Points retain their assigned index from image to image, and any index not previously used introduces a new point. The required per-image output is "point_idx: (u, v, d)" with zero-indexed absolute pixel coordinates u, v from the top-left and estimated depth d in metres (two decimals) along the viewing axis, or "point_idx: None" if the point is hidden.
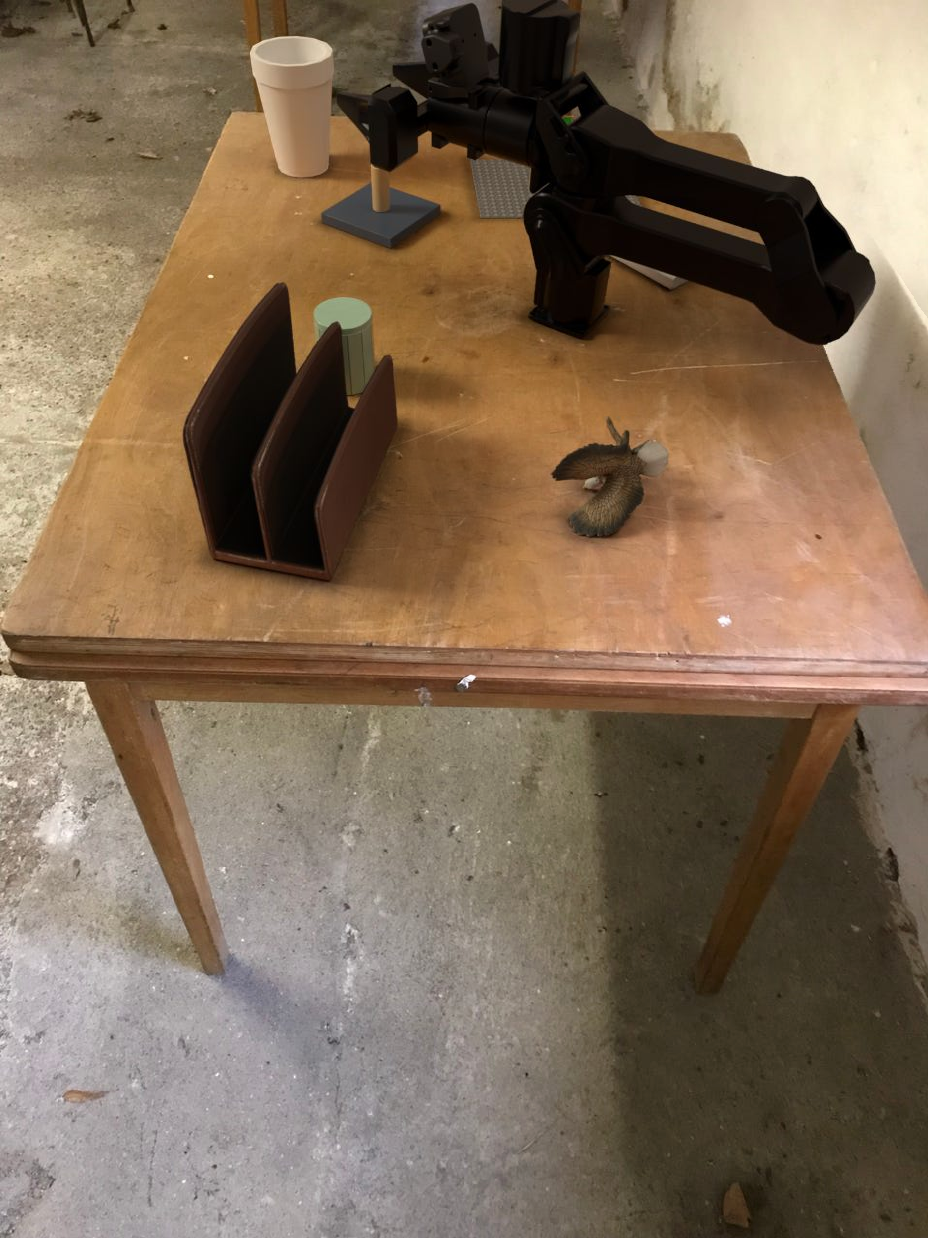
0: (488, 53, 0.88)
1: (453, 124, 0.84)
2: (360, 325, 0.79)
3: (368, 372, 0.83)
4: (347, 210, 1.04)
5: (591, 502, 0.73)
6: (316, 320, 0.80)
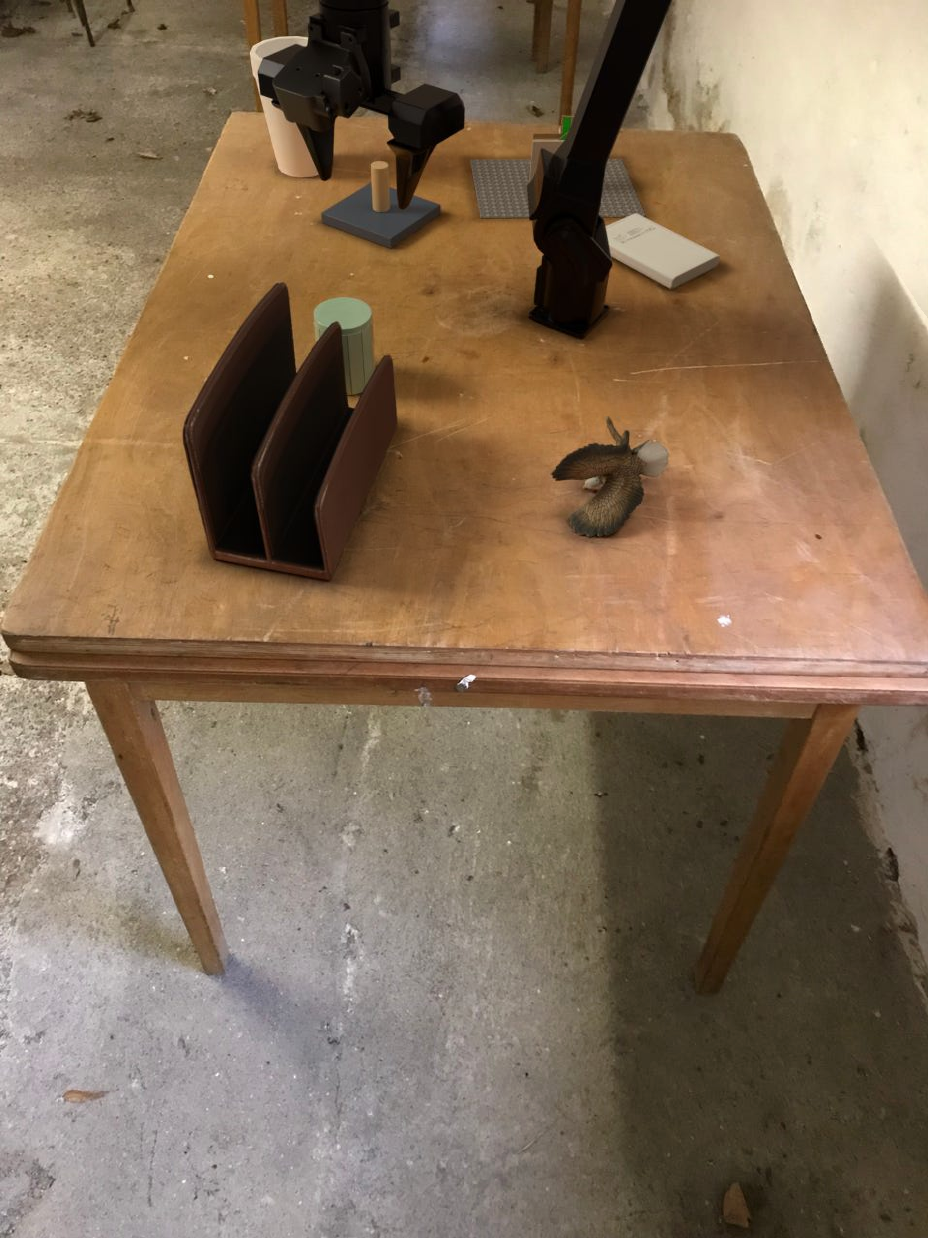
0: (272, 68, 0.78)
1: (384, 53, 0.74)
2: (360, 325, 0.79)
3: (368, 372, 0.83)
4: (347, 210, 1.04)
5: (591, 502, 0.73)
6: (316, 320, 0.80)
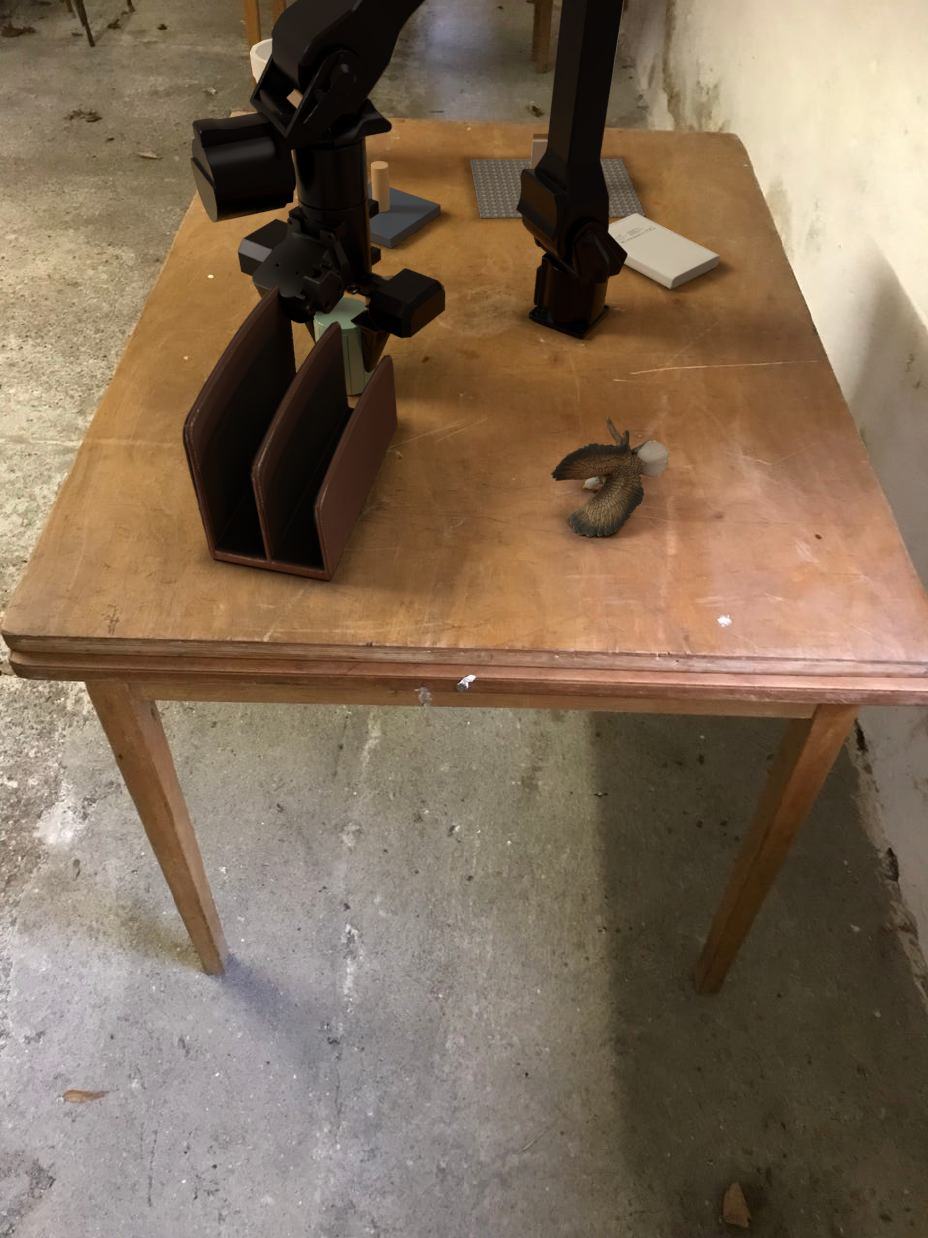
0: (252, 249, 0.78)
1: (363, 243, 0.74)
2: None
3: None
4: None
5: (591, 502, 0.73)
6: (316, 320, 0.80)
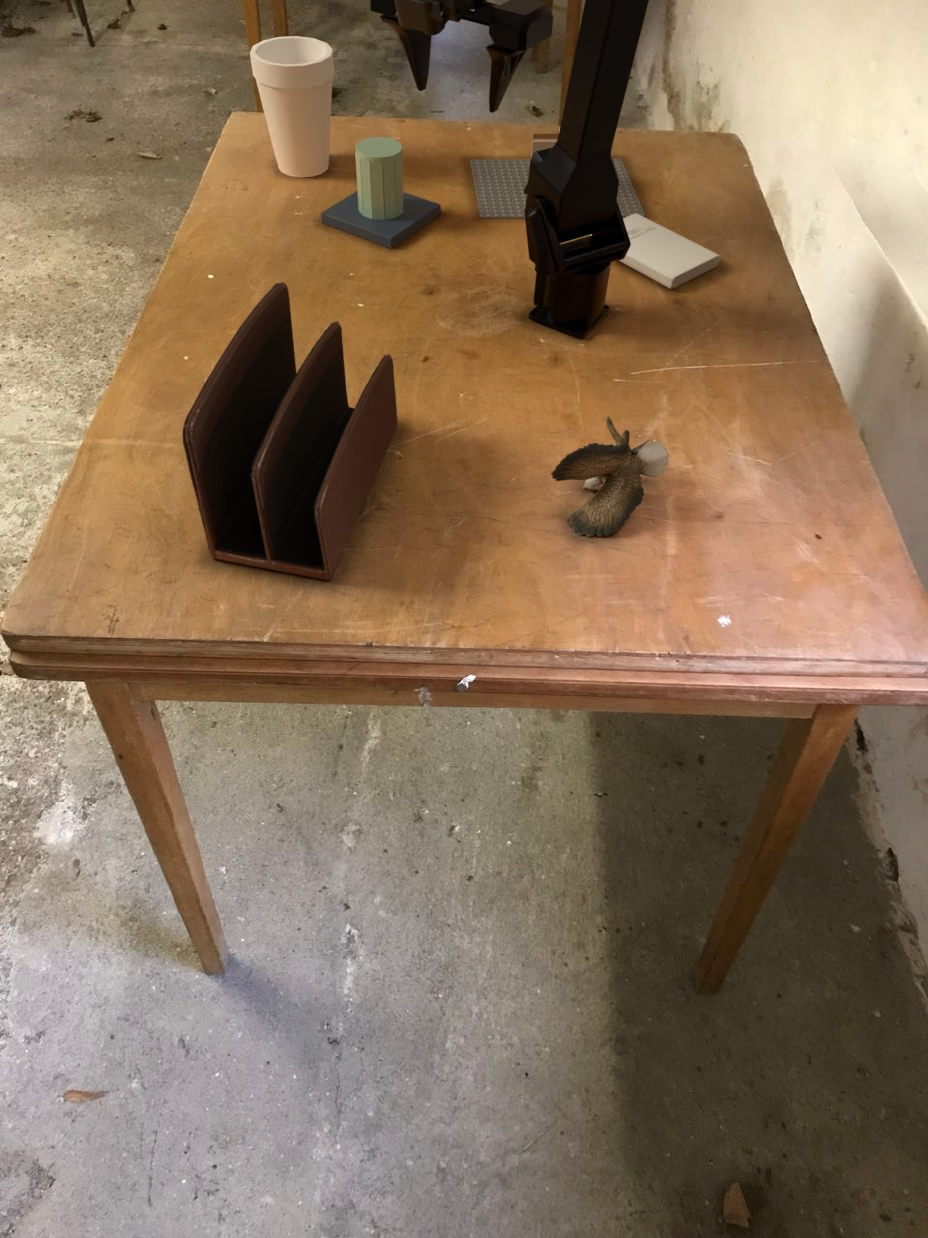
0: None
1: None
2: (393, 155, 0.98)
3: (398, 200, 1.02)
4: (347, 210, 1.04)
5: (591, 502, 0.73)
6: (358, 151, 0.98)
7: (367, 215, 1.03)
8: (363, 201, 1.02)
